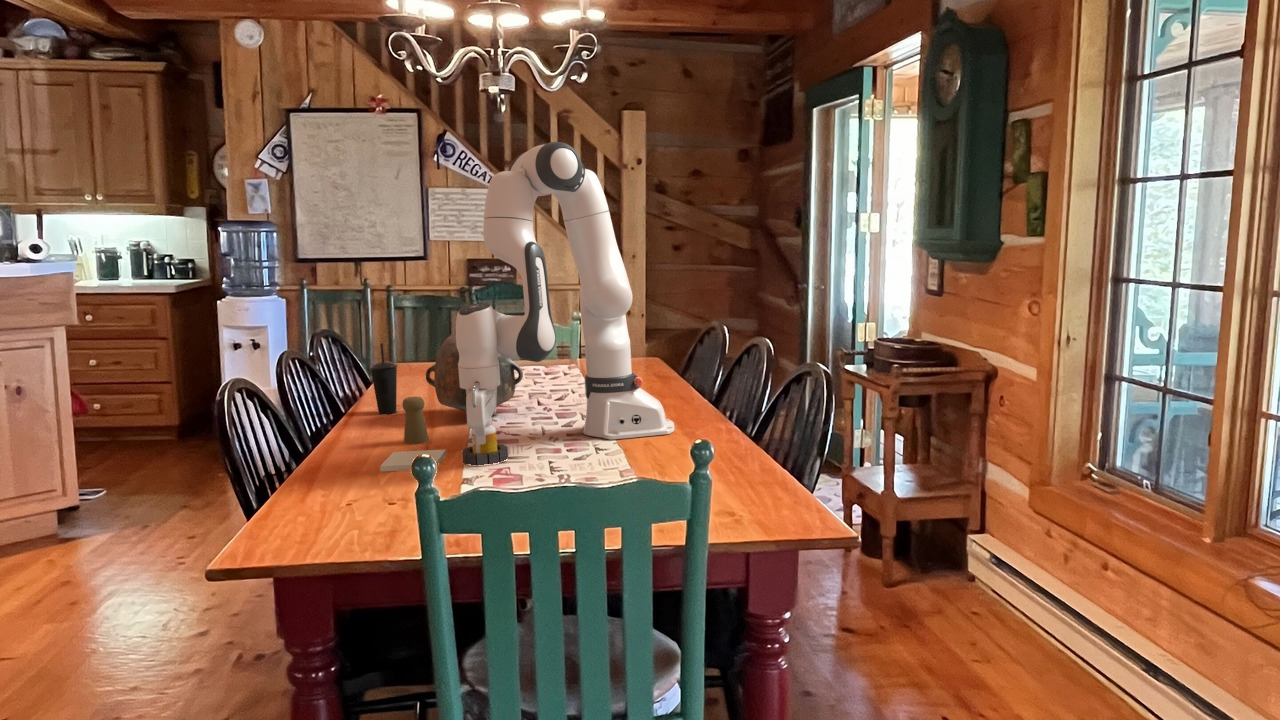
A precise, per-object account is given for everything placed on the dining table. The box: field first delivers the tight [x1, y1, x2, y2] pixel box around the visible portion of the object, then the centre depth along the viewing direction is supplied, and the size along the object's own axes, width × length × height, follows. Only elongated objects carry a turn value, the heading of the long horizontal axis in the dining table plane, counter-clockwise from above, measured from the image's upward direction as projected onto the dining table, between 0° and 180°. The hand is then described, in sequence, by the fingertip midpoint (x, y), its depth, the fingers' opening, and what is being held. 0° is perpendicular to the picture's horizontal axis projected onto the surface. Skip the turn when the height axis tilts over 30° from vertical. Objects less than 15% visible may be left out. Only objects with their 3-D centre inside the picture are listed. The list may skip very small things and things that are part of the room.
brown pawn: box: [402, 396, 430, 445], centre depth 223 cm, size 6×6×11 cm
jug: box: [425, 331, 524, 414], centre depth 248 cm, size 24×21×30 cm
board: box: [379, 449, 447, 472], centre depth 203 cm, size 12×12×1 cm
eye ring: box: [461, 443, 509, 465], centre depth 203 cm, size 10×10×2 cm
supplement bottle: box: [470, 416, 498, 453], centre depth 202 cm, size 5×5×10 cm
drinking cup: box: [369, 342, 398, 415], centre depth 259 cm, size 8×8×20 cm
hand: (484, 439), depth 202 cm, fingers closed on supplement bottle, 5 cm apart
